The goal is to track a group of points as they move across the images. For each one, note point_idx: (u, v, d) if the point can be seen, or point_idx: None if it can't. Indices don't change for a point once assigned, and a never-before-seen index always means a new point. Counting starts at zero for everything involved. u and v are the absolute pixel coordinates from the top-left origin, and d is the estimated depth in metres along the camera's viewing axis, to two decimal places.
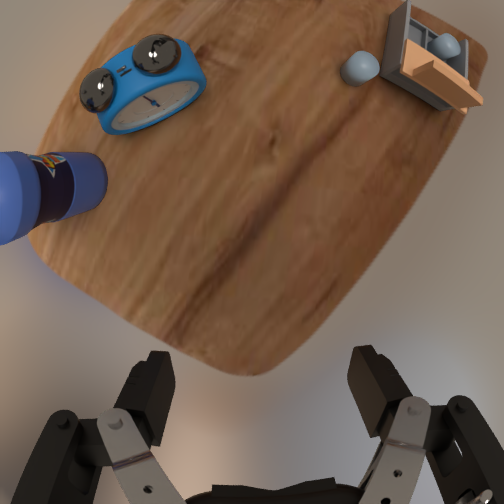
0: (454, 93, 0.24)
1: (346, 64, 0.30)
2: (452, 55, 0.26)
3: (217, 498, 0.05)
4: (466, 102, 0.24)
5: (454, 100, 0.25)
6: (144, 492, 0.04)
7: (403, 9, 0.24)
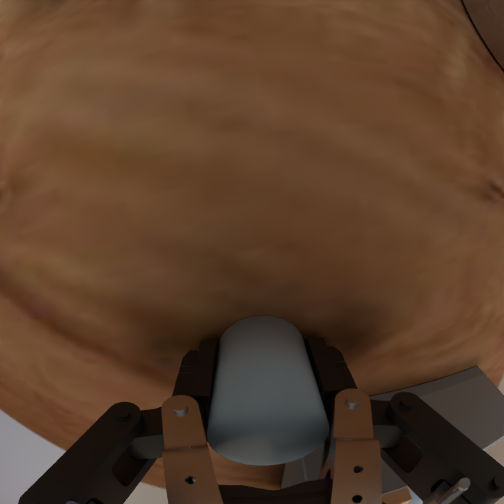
0: None
1: (258, 356, 0.09)
2: None
3: None
4: None
5: None
6: (185, 481, 0.05)
7: (499, 418, 0.09)
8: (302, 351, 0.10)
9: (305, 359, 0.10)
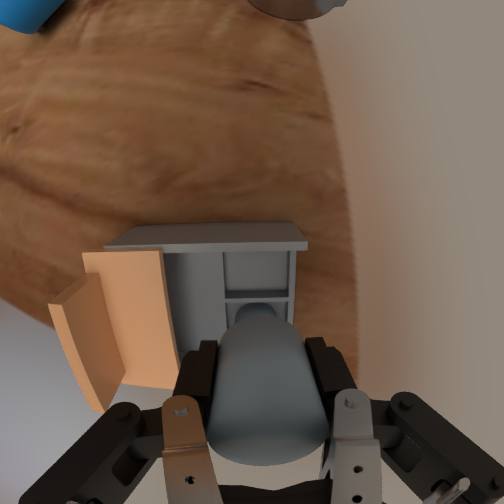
0: None
1: (258, 357, 0.09)
2: None
3: None
4: None
5: None
6: (185, 481, 0.05)
7: (277, 236, 0.19)
8: (302, 352, 0.10)
9: (305, 360, 0.10)
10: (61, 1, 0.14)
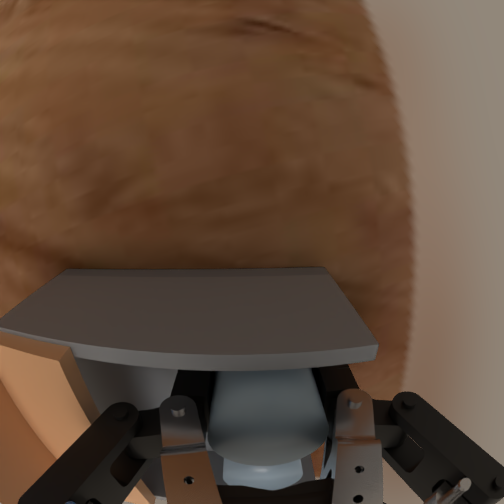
0: None
1: None
2: None
3: None
4: None
5: None
6: (184, 481, 0.05)
7: (310, 326, 0.09)
8: None
9: None
10: None
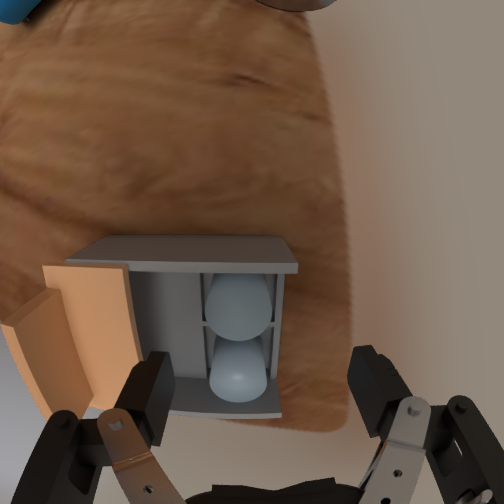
0: None
1: None
2: None
3: (217, 498, 0.05)
4: None
5: None
6: (144, 491, 0.04)
7: (262, 255, 0.16)
8: None
9: (261, 276, 0.19)
10: None
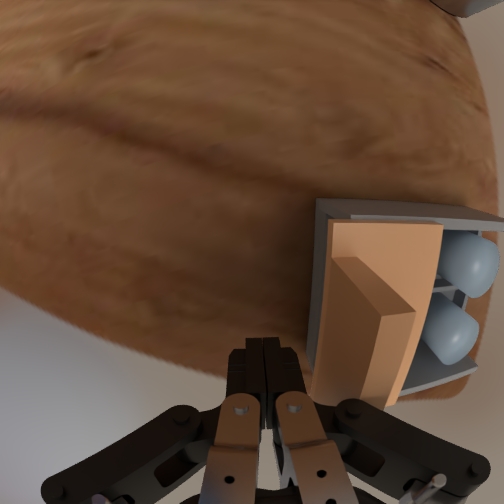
0: (332, 397, 0.11)
1: (466, 232, 0.15)
2: (436, 351, 0.16)
3: None
4: None
5: (320, 393, 0.13)
6: (224, 480, 0.05)
7: (494, 218, 0.13)
8: None
9: None
10: None
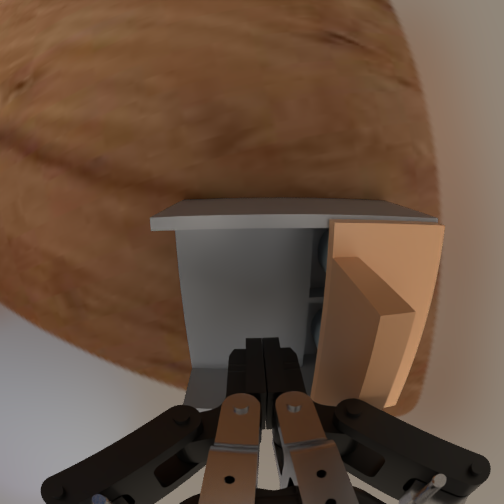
0: (332, 397, 0.11)
1: None
2: None
3: None
4: None
5: (320, 393, 0.13)
6: (224, 480, 0.05)
7: (398, 212, 0.13)
8: None
9: None
10: None
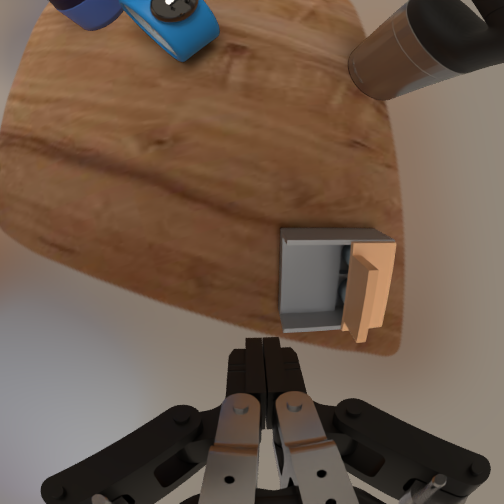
0: (354, 307, 0.31)
1: None
2: None
3: None
4: (351, 324, 0.31)
5: (348, 311, 0.33)
6: (224, 480, 0.05)
7: (378, 237, 0.33)
8: None
9: None
10: None
